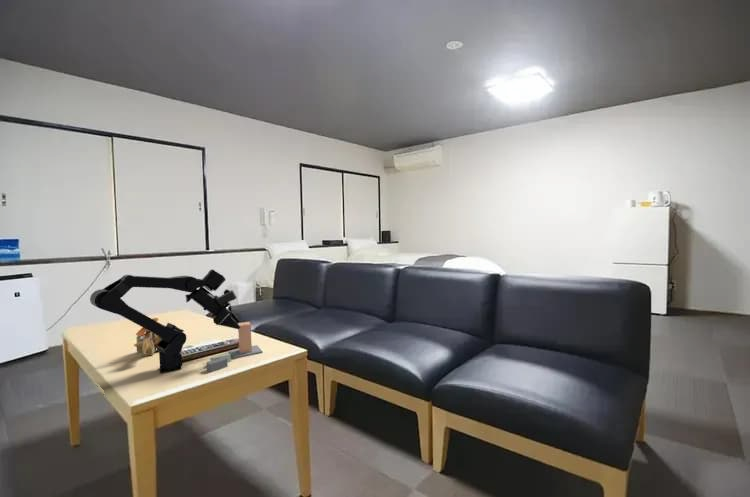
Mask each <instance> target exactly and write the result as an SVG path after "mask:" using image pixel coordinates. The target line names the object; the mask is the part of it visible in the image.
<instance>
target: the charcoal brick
mask: <svg viewBox="0 0 750 497" xmlns="http://www.w3.org/2000/svg"><path fill="white" fill-rule="evenodd" d="M205 363H206V371H207V372H210V373H213V372H217V371H220V370H222V369H224V368H228V366H229V364H228V362H227V359H226V358H224V357H222V358H219V359H216V360H213V361H211V360H210V361H207V362H205Z"/></svg>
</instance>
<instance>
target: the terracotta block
mask: <svg viewBox="0 0 750 497" xmlns="http://www.w3.org/2000/svg"><path fill="white" fill-rule="evenodd" d="M237 324H238V325H239V326H240V328H239V329H237V332H238V349H239V352H240V354H241V353H247V352H252V346H253V345H252V330H251V329H252V327H251V326H252V325H251V322H250V321H244V322H239V323H237Z"/></svg>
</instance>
